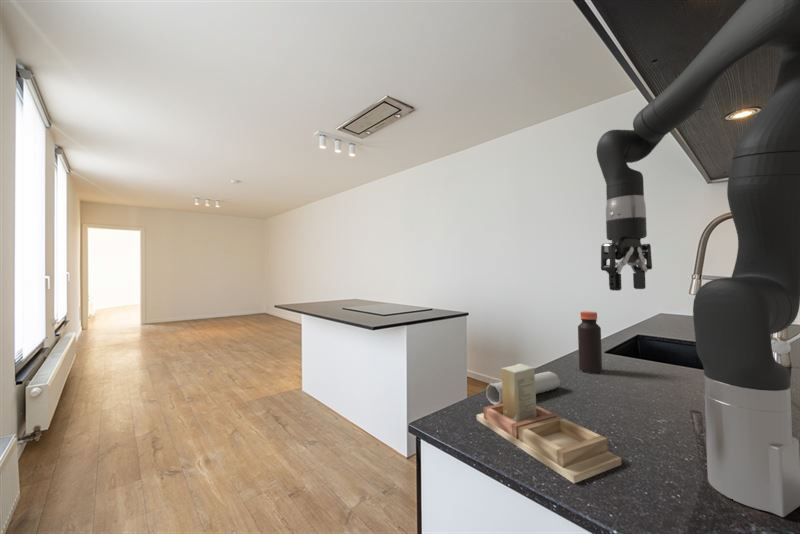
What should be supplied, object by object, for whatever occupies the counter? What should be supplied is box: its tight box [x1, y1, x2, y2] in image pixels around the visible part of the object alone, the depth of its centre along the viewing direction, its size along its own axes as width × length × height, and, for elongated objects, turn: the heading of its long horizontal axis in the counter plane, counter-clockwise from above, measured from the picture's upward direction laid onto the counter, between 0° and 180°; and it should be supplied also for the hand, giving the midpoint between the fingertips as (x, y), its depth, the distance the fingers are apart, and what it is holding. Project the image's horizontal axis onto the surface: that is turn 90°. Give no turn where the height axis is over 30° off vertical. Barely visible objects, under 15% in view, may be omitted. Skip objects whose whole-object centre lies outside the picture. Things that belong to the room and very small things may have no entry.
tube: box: [485, 370, 561, 405], centre depth 92 cm, size 5×5×25 cm
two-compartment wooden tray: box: [476, 403, 622, 484], centre depth 68 cm, size 26×12×4 cm, turn 24°
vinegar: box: [577, 311, 603, 374], centre depth 113 cm, size 7×7×20 cm
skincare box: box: [501, 363, 537, 423], centre depth 74 cm, size 6×4×12 cm
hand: (627, 289), depth 75 cm, fingers open, 8 cm apart
